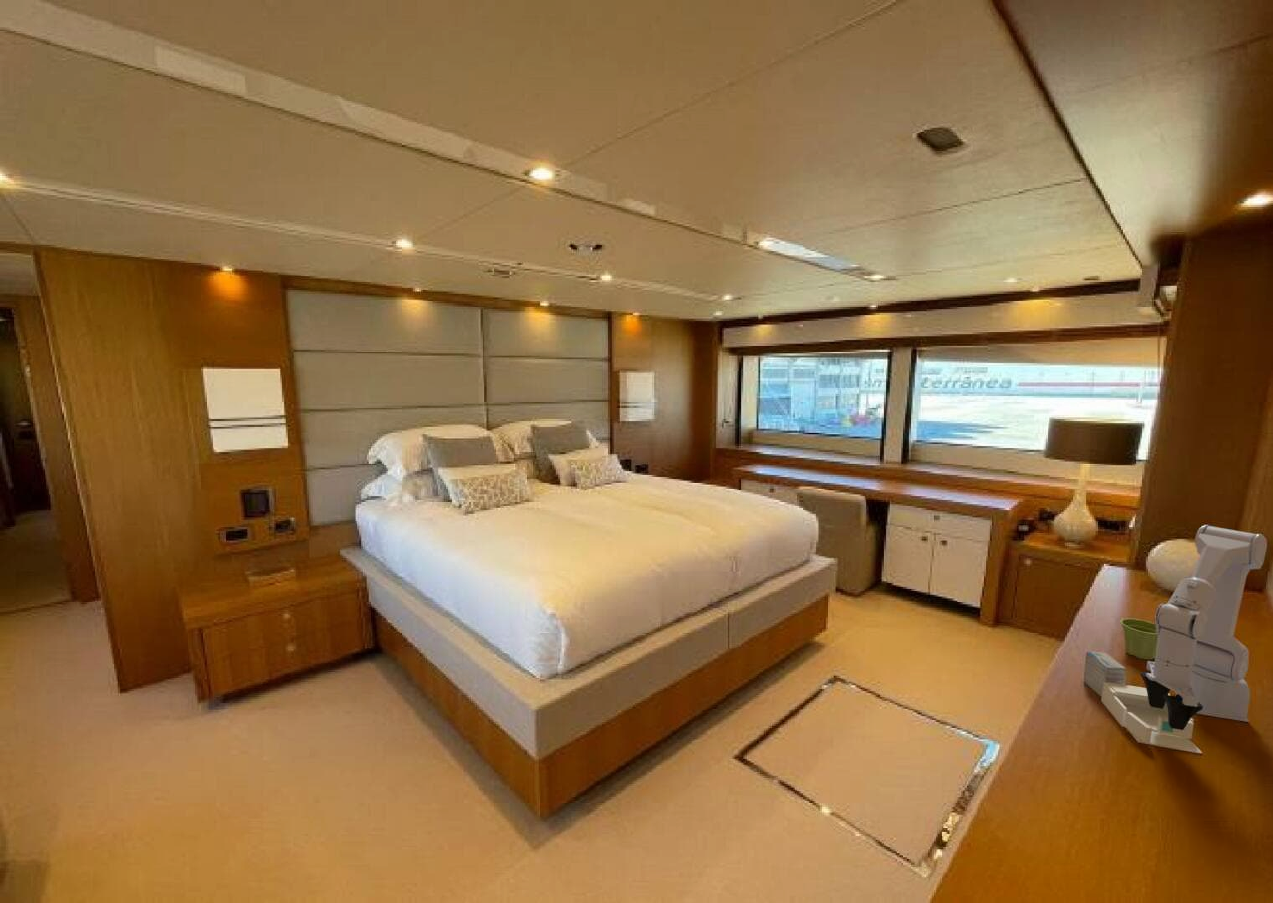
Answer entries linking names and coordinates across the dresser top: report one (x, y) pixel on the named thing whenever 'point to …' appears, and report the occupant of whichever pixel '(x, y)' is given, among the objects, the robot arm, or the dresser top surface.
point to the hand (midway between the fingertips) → (1165, 717)
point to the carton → (1141, 716)
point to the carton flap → (1166, 729)
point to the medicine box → (1102, 671)
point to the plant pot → (1140, 638)
